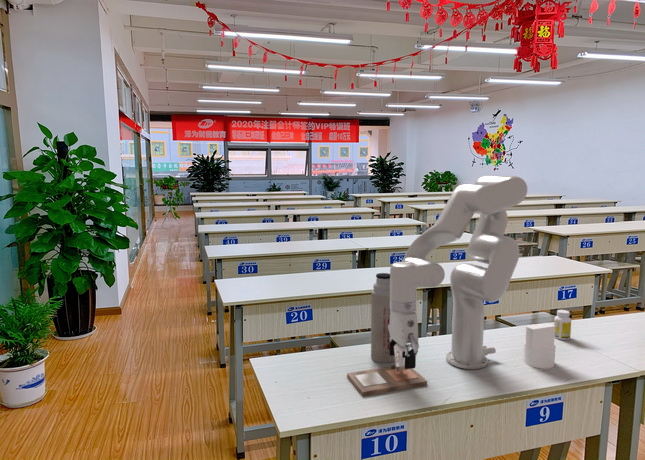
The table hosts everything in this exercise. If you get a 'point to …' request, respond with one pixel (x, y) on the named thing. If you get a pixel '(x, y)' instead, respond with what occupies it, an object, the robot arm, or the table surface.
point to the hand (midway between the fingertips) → (402, 361)
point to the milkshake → (400, 360)
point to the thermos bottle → (380, 319)
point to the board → (384, 380)
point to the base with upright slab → (539, 346)
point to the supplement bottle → (562, 325)
